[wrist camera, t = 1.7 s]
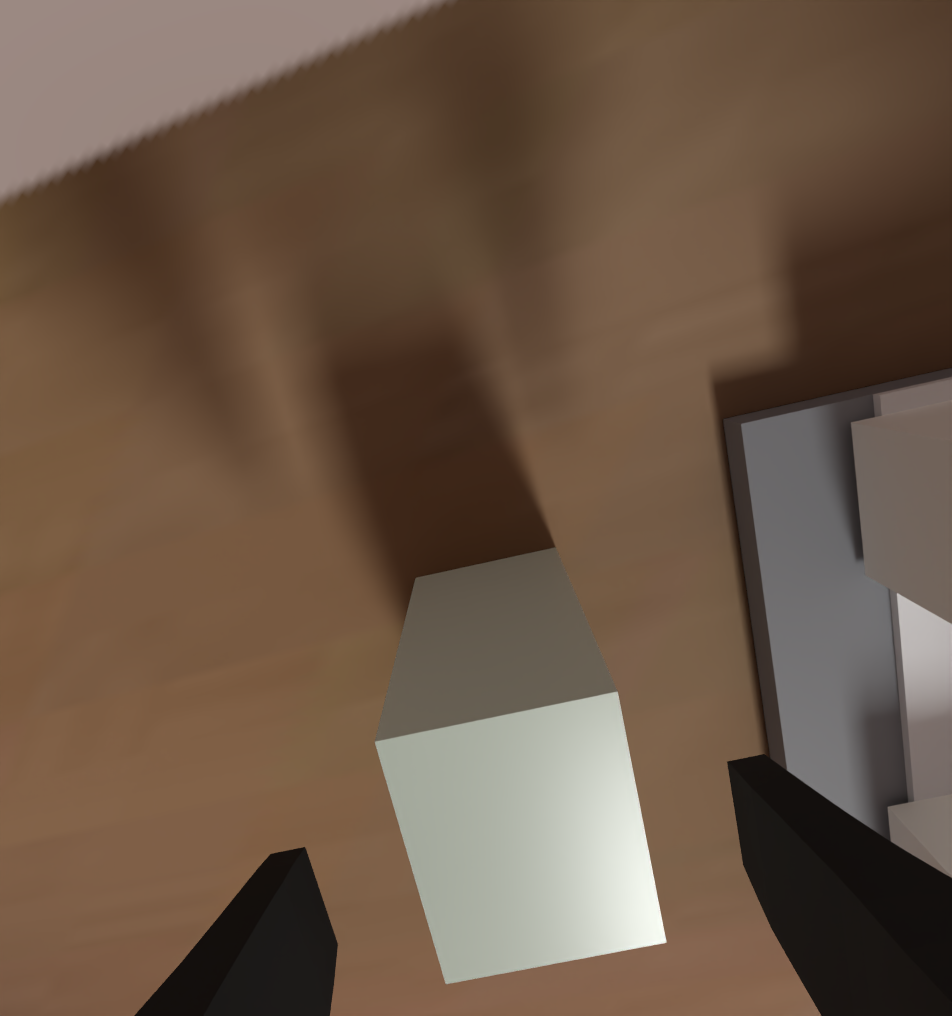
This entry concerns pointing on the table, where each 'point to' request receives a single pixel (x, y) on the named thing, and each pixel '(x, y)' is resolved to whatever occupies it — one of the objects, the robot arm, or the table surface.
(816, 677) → the rail board
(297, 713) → the table surface
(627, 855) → the block
